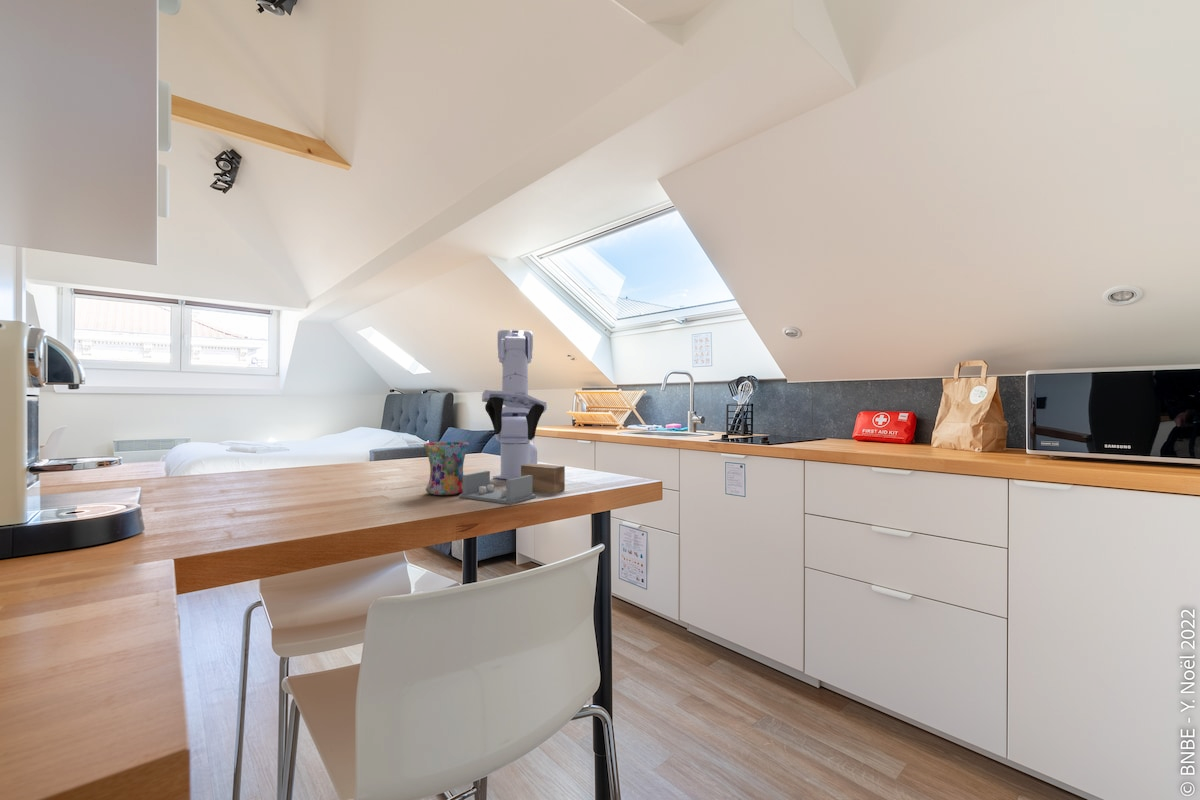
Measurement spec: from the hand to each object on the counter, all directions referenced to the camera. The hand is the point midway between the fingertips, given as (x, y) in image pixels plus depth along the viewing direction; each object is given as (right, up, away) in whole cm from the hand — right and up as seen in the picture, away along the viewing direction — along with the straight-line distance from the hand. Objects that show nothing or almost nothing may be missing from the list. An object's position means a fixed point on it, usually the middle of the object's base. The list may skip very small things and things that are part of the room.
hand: (515, 435), depth 111 cm
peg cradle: (-3, -12, -5) cm, 14 cm away
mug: (-15, -13, +1) cm, 19 cm away
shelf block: (+6, -13, +4) cm, 14 cm away
